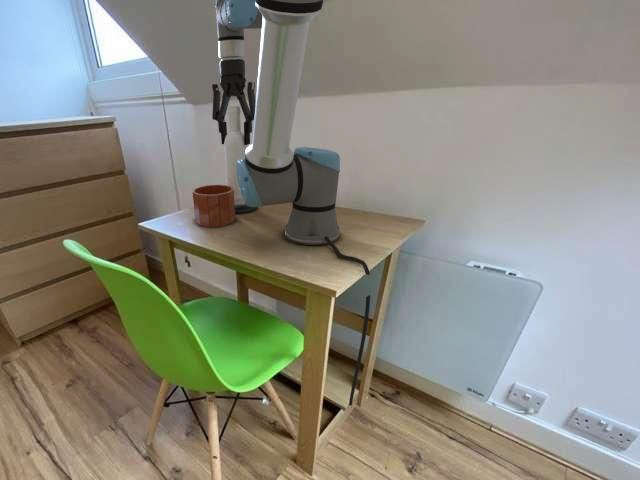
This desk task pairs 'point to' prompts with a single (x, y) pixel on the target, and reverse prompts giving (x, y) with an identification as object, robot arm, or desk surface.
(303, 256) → the desk surface
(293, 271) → the desk surface
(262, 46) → the robot arm
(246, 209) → the coaster
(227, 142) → the bottle
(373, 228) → the desk surface
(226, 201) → the reddish brown pot
